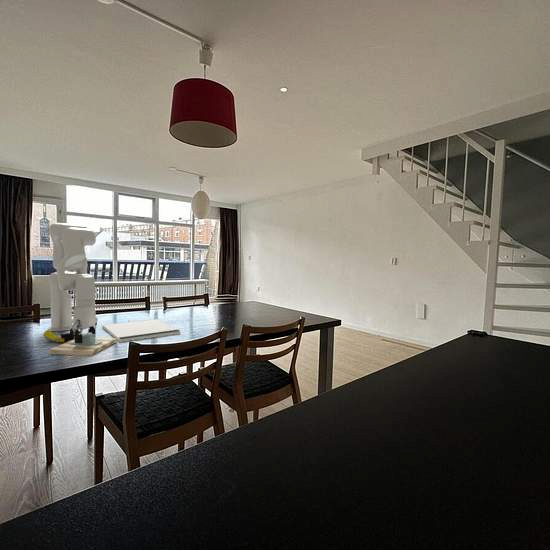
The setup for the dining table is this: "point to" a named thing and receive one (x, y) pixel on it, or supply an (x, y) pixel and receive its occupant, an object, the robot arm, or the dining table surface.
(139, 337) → the white flat board
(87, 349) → the plate
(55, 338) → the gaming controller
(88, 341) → the servo block
